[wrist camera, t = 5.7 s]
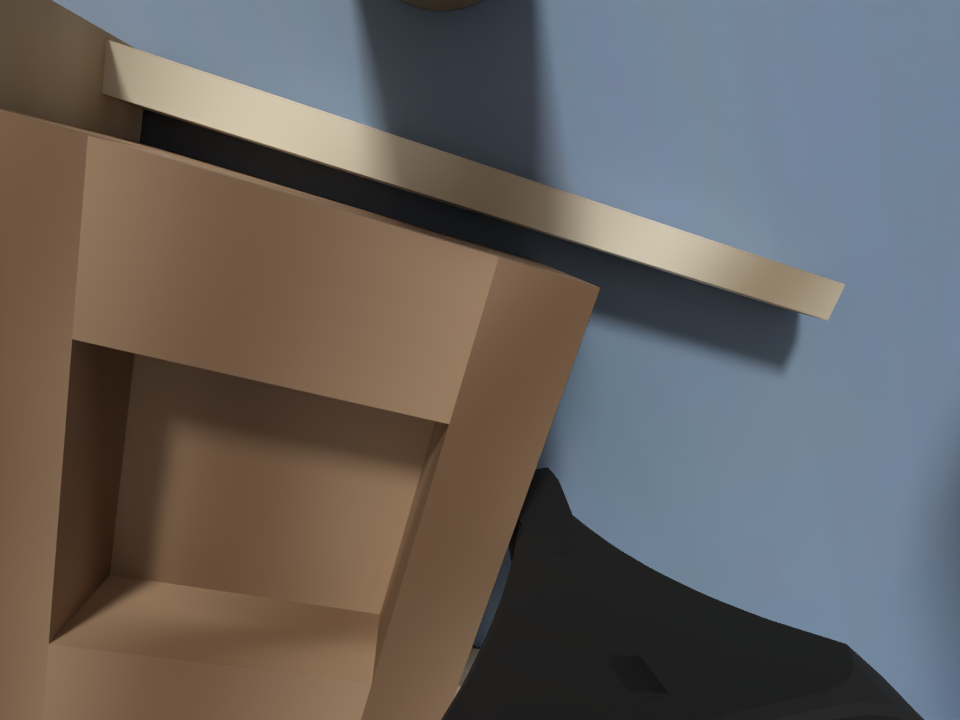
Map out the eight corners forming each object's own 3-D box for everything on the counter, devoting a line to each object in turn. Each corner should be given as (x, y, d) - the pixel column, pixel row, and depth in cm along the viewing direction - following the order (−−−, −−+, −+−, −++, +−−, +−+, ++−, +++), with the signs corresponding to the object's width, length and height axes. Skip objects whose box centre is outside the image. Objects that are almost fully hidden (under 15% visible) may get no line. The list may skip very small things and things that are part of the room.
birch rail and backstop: (804, 273, 11) (1081, 315, 7) (611, 691, 14) (702, 924, 10) (24, 15, 8) (-515, -255, 4) (-2, 612, 12) (-302, 892, 7)
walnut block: (537, 261, 11) (600, 287, 7) (421, 622, 13) (420, 791, 9) (142, 143, 9) (-63, 91, 5) (97, 575, 12) (-65, 753, 8)
